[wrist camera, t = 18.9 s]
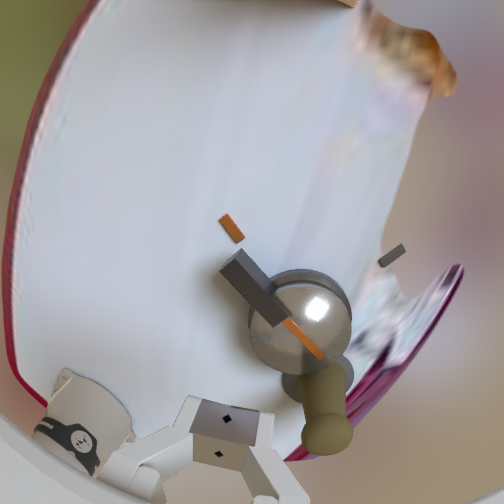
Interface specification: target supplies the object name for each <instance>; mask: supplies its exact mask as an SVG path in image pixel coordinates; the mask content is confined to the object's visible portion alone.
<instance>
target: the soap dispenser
mask: <svg viewBox="0 0 504 504" xmlns="http://www.w3.org/2000/svg"><path fill="white" fill-rule="evenodd" d="M338 1H340V2H342V3H344V4H346V5H348V6H350V7H352V8H355V7H356V5H357V4H358V3H359V1H360V0H338Z"/></svg>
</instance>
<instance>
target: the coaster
mask: <svg viewBox="0 0 504 504" xmlns="http://www.w3.org/2000/svg"><path fill="white" fill-rule="evenodd" d="M335 363H337V364H339V365H340V366H341V367H343V369H344V371H345V373H346V392H347V391H348V390H349V388H350V387H351V385H352V383H353V380H354V371H353V367H352V365H351V363H350V362H349V360H348V359H347V358H345V357H344V356H342V355H341V357H340V358H339V359H338V360H337V361H335ZM298 377H299V374H288V373H284V374H283V387H284V390H285V391H286V393H287V394H288V395H289V396H290V397H291V398H292V399H294V400H295V401H297V402H300V403H302V400H301V395H300V390H299V385H298Z"/></svg>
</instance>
